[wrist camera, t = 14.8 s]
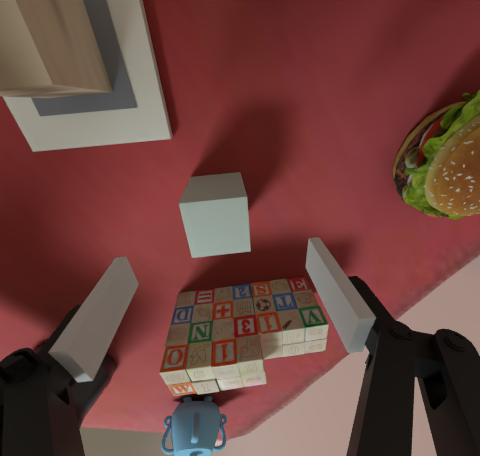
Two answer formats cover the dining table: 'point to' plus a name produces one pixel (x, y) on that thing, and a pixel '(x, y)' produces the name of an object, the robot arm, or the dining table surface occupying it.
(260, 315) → the stack of blocks
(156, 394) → the dining table surface
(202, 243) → the sage block
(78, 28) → the beech block
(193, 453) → the teapot
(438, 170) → the food
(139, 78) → the white square base plate
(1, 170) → the dining table surface
